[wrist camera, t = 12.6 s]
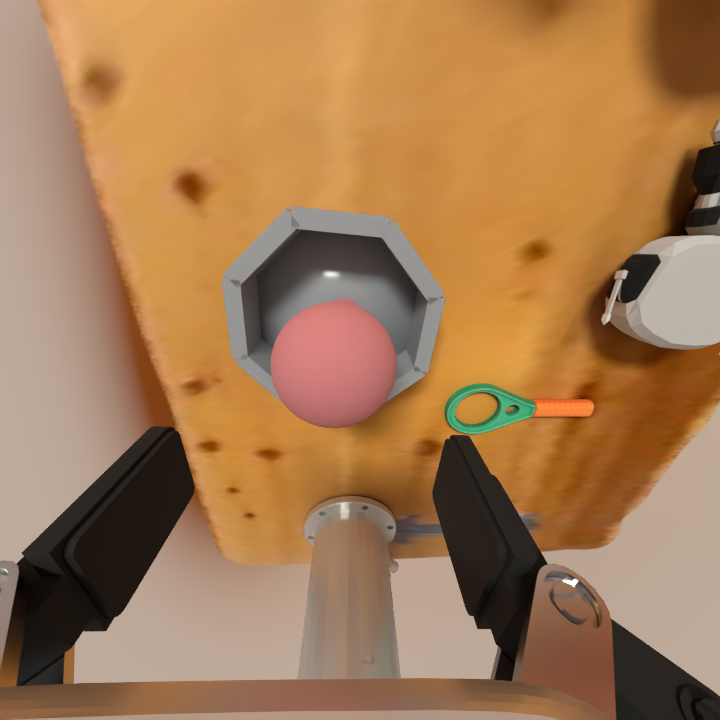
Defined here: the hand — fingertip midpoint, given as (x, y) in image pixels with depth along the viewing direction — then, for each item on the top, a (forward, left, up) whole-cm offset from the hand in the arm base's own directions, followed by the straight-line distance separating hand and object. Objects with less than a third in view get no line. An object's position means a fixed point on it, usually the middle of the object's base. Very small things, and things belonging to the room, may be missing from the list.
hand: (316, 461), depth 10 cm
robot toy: (-14, -26, -17) cm, 33 cm away
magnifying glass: (-20, -8, -17) cm, 27 cm away
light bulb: (0, 0, -16) cm, 16 cm away
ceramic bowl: (0, 0, -16) cm, 16 cm away
